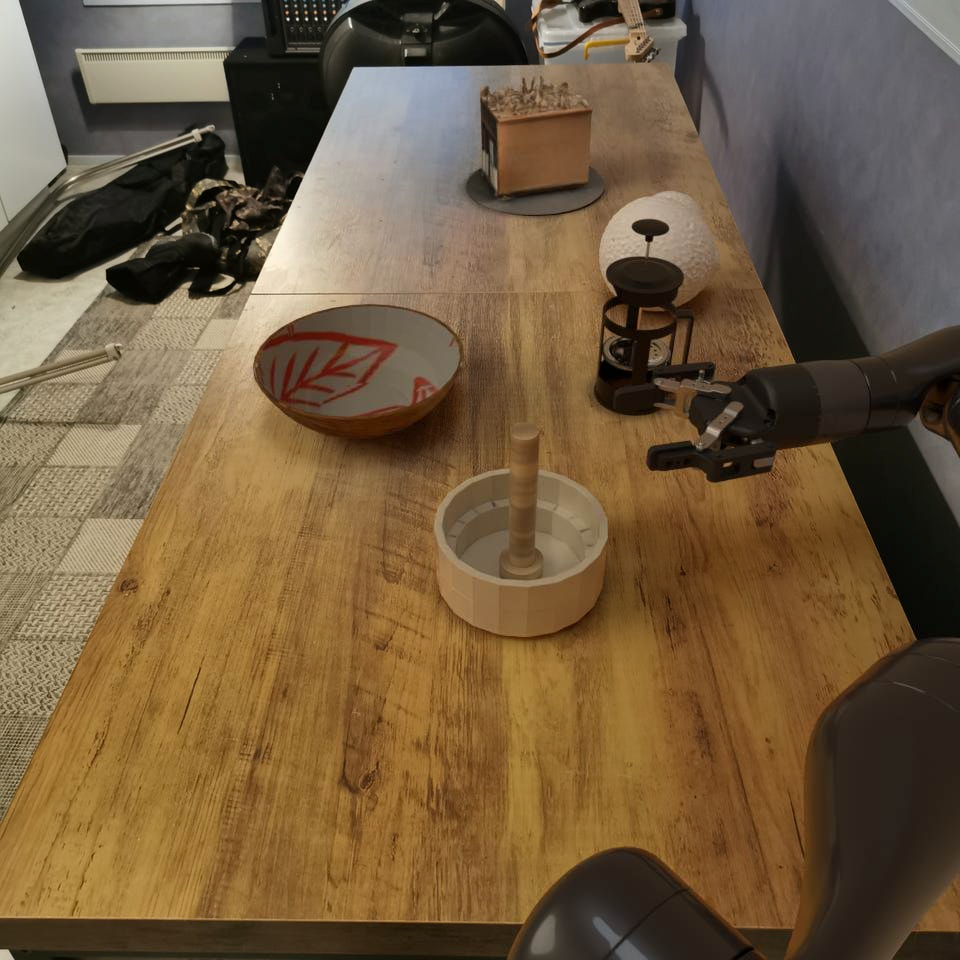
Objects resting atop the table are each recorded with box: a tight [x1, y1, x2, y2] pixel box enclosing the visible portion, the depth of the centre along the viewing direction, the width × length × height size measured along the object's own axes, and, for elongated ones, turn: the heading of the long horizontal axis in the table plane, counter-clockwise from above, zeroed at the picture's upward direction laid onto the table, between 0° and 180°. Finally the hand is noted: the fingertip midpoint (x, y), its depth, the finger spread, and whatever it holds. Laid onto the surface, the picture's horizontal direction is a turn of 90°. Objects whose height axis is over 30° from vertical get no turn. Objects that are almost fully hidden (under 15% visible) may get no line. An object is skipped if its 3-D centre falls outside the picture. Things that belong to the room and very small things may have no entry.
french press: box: [593, 219, 695, 416], centre depth 110 cm, size 12×9×23 cm
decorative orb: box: [598, 190, 721, 312], centre depth 131 cm, size 20×18×16 cm
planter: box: [465, 74, 605, 216], centre depth 162 cm, size 25×25×19 cm
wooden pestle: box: [499, 421, 544, 581], centre depth 87 cm, size 4×4×18 cm
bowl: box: [252, 303, 465, 440], centre depth 113 cm, size 25×25×8 cm
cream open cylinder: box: [433, 467, 609, 638], centre depth 91 cm, size 17×17×8 cm
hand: (630, 429), depth 81 cm, fingers open, 8 cm apart
